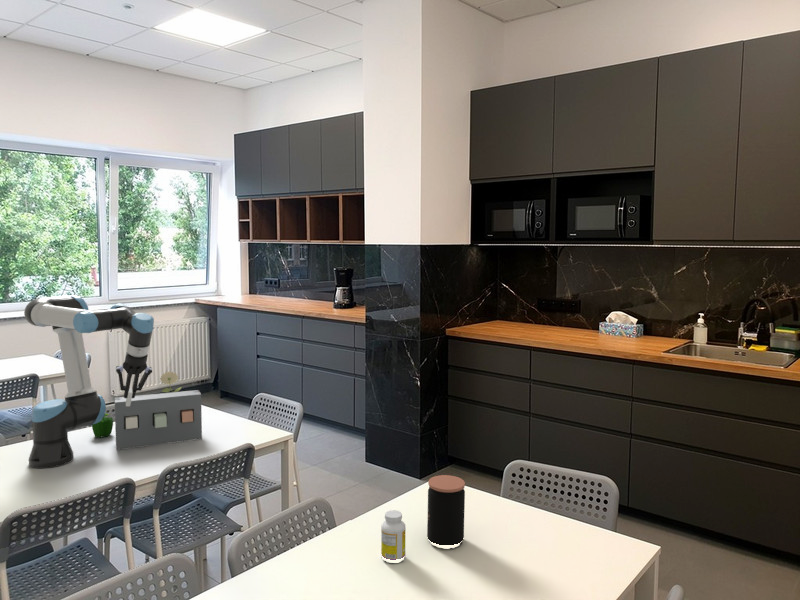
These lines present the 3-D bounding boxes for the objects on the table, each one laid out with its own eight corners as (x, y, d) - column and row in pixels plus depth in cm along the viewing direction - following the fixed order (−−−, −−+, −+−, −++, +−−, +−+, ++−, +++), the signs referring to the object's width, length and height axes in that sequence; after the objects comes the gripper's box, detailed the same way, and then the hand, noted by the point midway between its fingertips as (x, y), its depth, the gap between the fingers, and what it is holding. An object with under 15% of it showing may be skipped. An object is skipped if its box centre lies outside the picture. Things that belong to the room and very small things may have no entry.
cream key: (126, 429, 246) (125, 418, 246) (125, 424, 252) (125, 414, 252) (137, 427, 248) (137, 417, 248) (136, 423, 254) (136, 413, 254)
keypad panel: (116, 449, 247) (114, 402, 245) (115, 443, 254) (114, 397, 252) (201, 438, 262) (201, 394, 260) (199, 433, 269) (198, 390, 267)
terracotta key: (182, 422, 256) (182, 412, 256) (180, 418, 262) (180, 408, 262) (193, 421, 258) (192, 411, 258) (190, 417, 264) (190, 407, 264)
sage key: (155, 427, 248) (155, 417, 248) (154, 423, 254) (153, 413, 254) (166, 426, 250) (166, 416, 250) (165, 422, 256) (164, 412, 256)
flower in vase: (192, 419, 290) (191, 368, 288) (185, 426, 279) (184, 374, 277) (165, 419, 290) (163, 368, 287) (157, 426, 278) (155, 374, 276)
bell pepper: (87, 437, 262) (86, 415, 261) (102, 432, 269) (101, 410, 268) (102, 439, 259) (102, 417, 258) (117, 434, 267) (116, 412, 266)
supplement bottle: (398, 550, 169) (398, 506, 168) (409, 561, 163) (410, 516, 162) (377, 555, 166) (377, 511, 165) (387, 567, 160) (388, 521, 159)
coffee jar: (441, 529, 182) (442, 472, 180) (470, 540, 175) (472, 481, 173) (419, 542, 174) (420, 482, 172) (450, 554, 167) (451, 492, 165)
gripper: (118, 357, 217) (109, 410, 225) (156, 358, 224) (146, 410, 232) (117, 346, 223) (108, 398, 231) (154, 348, 230) (144, 398, 238)
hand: (127, 404), depth 232 cm, fingers closed
